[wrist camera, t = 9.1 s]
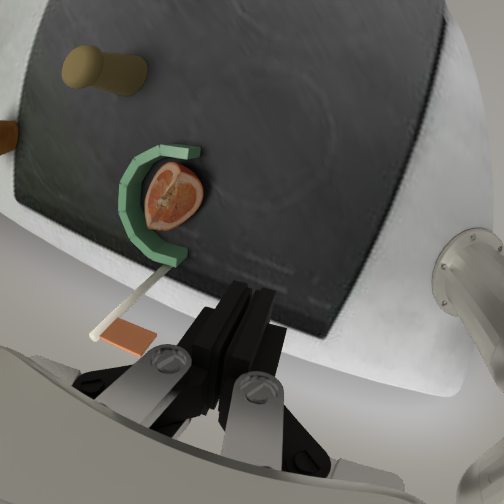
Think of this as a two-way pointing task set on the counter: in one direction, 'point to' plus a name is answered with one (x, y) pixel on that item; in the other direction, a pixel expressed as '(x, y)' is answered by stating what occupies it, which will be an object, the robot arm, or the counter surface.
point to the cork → (104, 70)
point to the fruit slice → (172, 197)
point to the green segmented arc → (141, 248)
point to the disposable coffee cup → (8, 136)
